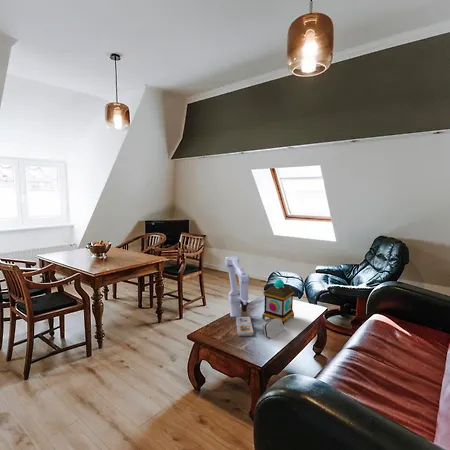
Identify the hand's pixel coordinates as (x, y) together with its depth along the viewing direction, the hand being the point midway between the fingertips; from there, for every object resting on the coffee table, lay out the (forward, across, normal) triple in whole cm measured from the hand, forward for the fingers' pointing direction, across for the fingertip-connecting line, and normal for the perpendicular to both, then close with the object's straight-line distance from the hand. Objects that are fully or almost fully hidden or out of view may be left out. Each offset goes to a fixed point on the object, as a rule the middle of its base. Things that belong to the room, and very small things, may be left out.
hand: (243, 310), depth 207 cm
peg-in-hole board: (+10, +4, 0) cm, 11 cm away
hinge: (+11, +12, +19) cm, 25 cm away
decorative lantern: (+11, -9, +26) cm, 29 cm away
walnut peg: (+3, 0, 0) cm, 3 cm away
